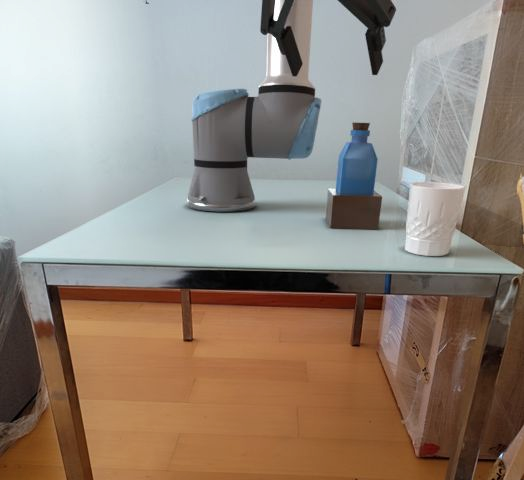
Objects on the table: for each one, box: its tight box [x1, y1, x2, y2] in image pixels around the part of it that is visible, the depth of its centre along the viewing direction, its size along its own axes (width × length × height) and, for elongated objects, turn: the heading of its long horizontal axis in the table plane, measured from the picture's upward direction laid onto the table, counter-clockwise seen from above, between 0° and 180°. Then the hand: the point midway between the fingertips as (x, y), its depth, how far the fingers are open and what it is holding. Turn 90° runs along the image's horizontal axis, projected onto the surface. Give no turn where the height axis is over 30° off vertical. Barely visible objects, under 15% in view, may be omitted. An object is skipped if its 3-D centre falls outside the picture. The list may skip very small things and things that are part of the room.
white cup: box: [404, 181, 466, 257], centre depth 73 cm, size 8×8×10 cm
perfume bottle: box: [335, 122, 379, 195], centre depth 88 cm, size 6×6×12 cm
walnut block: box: [325, 188, 383, 230], centre depth 92 cm, size 9×9×6 cm
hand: (336, 69), depth 75 cm, fingers open, 13 cm apart
